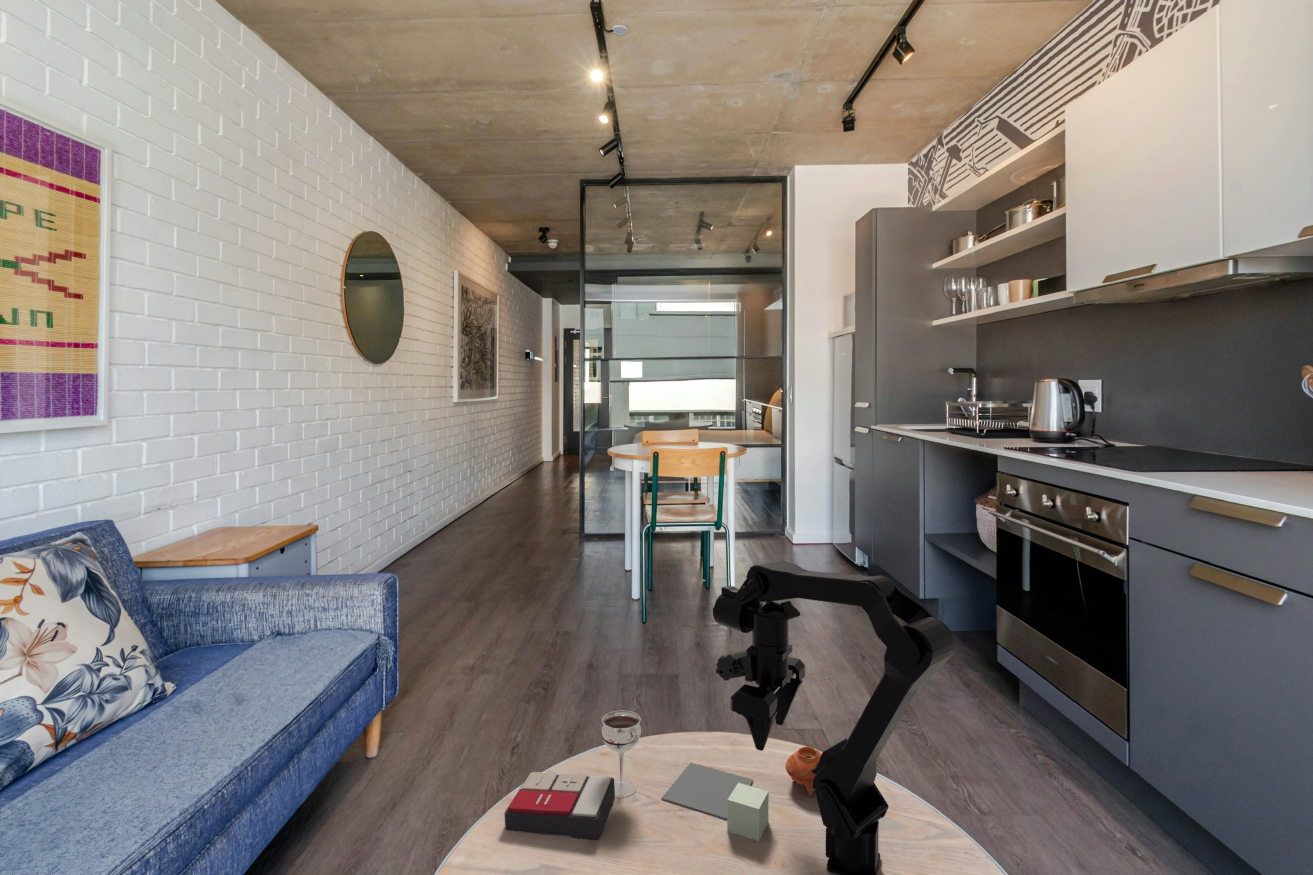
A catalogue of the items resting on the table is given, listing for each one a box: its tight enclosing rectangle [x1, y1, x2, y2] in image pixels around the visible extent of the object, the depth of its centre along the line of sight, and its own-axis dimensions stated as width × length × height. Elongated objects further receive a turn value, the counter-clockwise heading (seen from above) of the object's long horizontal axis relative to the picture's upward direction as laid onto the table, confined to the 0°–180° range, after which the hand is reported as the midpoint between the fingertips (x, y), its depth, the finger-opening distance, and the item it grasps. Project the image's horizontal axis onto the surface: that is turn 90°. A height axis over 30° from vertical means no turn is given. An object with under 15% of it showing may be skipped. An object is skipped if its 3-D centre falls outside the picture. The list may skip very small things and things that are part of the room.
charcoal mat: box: [661, 762, 754, 820], centre depth 105 cm, size 12×12×1 cm
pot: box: [785, 746, 822, 797], centre depth 106 cm, size 8×8×7 cm
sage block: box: [726, 783, 770, 842], centre depth 95 cm, size 5×5×5 cm
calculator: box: [504, 771, 616, 842], centre depth 98 cm, size 11×4×15 cm
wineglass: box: [601, 709, 642, 799], centre depth 105 cm, size 7×7×12 cm
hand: (770, 736), depth 99 cm, fingers open, 9 cm apart
